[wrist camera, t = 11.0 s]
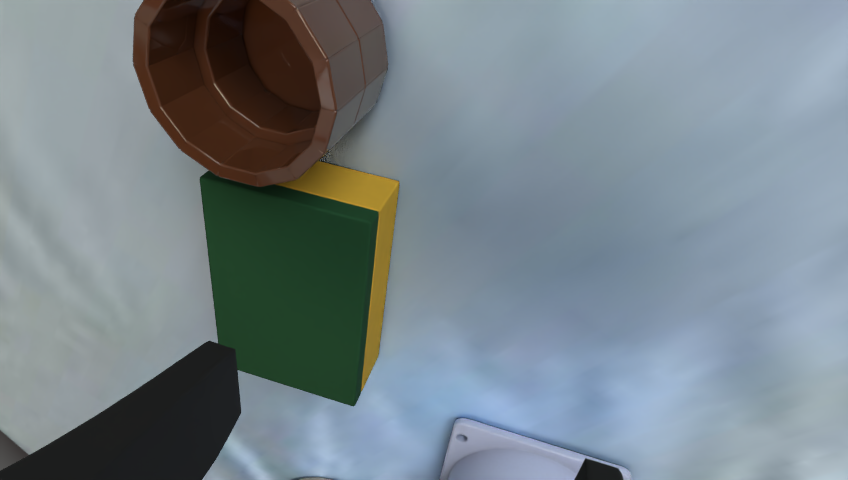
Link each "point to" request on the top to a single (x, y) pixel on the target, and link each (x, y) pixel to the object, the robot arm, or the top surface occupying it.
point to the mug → (314, 478)
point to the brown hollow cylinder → (259, 79)
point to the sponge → (302, 275)
